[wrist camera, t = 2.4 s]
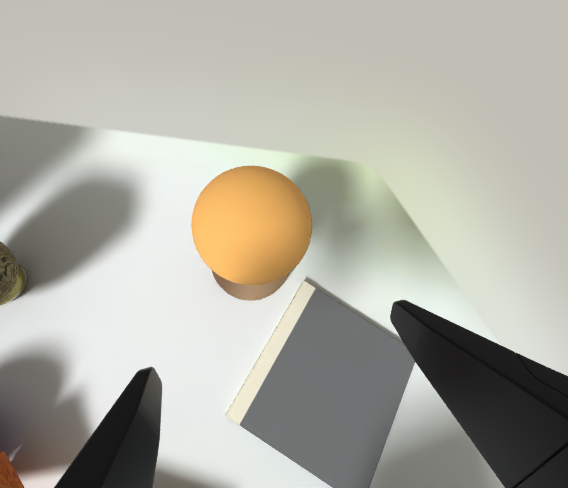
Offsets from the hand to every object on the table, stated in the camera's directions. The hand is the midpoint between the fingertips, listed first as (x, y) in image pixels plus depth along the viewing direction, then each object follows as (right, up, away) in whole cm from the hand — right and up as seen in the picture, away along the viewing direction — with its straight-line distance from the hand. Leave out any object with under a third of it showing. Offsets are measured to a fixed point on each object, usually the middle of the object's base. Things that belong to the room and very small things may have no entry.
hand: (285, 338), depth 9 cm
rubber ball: (-2, +4, +4) cm, 7 cm away
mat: (+4, -8, +11) cm, 14 cm away
